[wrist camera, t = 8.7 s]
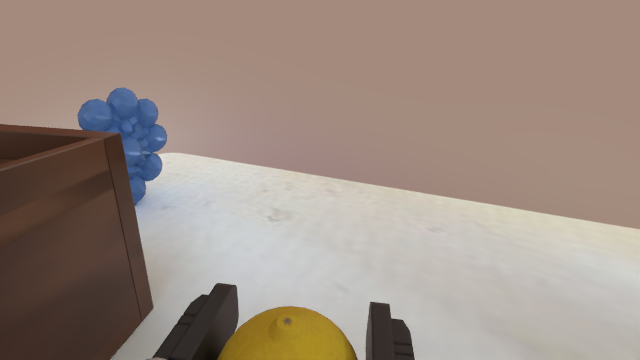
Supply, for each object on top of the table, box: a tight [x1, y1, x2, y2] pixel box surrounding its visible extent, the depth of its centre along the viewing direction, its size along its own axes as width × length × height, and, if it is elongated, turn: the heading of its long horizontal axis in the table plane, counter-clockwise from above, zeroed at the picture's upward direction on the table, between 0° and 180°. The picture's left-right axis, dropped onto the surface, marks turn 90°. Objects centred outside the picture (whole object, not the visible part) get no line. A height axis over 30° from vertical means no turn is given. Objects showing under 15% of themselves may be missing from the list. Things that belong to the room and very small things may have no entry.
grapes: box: [78, 88, 167, 204], centre depth 33 cm, size 12×7×12 cm, turn 163°
